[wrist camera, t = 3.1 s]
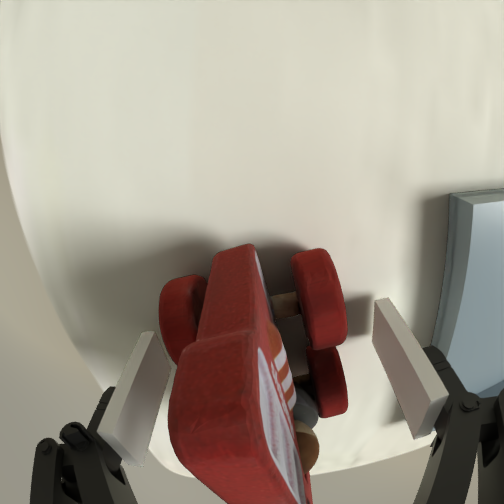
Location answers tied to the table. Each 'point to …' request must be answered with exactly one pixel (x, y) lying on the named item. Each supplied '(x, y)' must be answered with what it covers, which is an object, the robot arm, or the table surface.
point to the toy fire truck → (252, 375)
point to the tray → (474, 292)
